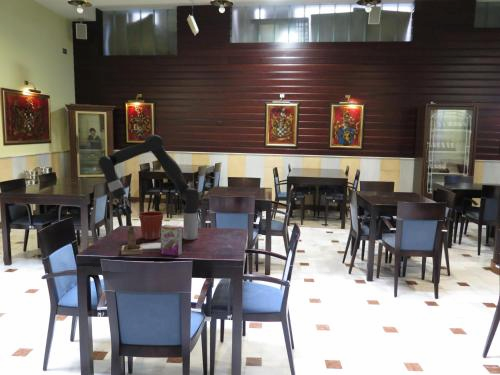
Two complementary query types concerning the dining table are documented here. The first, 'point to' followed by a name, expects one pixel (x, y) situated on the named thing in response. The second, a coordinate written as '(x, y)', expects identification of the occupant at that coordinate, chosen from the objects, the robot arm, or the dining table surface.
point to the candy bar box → (171, 240)
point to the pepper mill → (131, 238)
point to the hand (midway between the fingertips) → (128, 214)
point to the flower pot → (151, 224)
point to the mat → (151, 245)
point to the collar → (135, 251)
